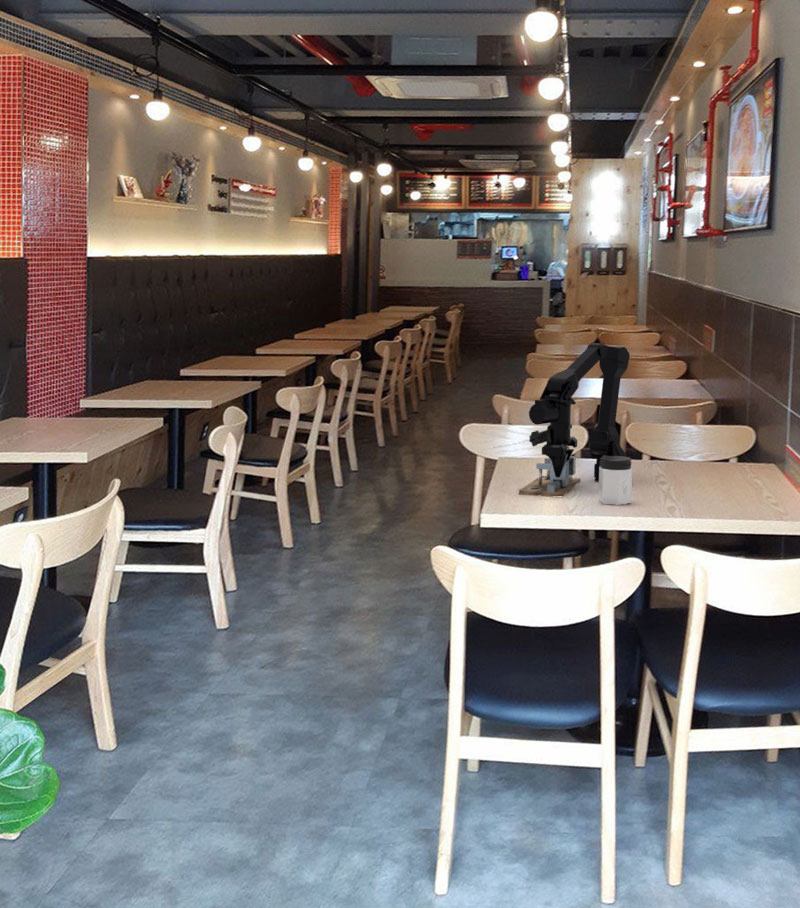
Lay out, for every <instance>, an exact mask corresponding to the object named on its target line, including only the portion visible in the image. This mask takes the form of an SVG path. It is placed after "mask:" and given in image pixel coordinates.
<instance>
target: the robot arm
mask: <svg viewBox="0 0 800 908" xmlns="http://www.w3.org/2000/svg"><path fill="white" fill-rule="evenodd" d="M629 362H630V352H629V351H628V348H627V347H625V346H613V345H606V344H605V343H597V342H596V343H594V342H592V343H590V344H588V345H587V347H586V349H585V350H584V351H583V352H582V353H581V354H579V356H578V357H577V358H576V359H575V360H574V361H573V362H572V363H571V364H570V365H569V366H568V367H567V368H566V369H564V370H561V371H559V372H556V373H555V374H554V375H552V376H550V377H549V378H548V379H547V382H546V385H545V387H544V389H543V391H542V393H541V396H539V397H540V398H539V399H534V404H533V405H532V406H531V407H530V409H529V411H528V417H529V420H530V421H531V423H533V424H534V425H535V426H536V425H543V424H544V425H545V424H549V425H547V428H546V430H542V431H539V430H535V431H532V432H531V433H530V435H529V440H528V441H529V442H530V443H531V445H532V447H536V446H537V445H540V444H543V443H545V445H543V446H542V447H541V456H542V455H543V456H546V457H547V458H550V459H551V461H552V464H553V468H554V472H555V477H560V475H561V472H562V469H563V467H564V464H565V461H566V460H570V458H571V456H573V453H574V451H575V449H576V448H577V447H578V439H577V438H576V437H575V436H571V429H572V428H573V423H571V422H572V421H571V417H572V416H571V414H572V413H571V412H572V411H571V410H572V405H576V404H577V403H576V400H575V399H573V396H574V395H575V393H576V391H577V390H578V389H579V384H580V383H579V382H580V381H581V380H582V379H583V378H584V377H585V376H586V375H587V374H588V373H589V372H590V371H591V369H592V368H594V367H595V365H597V364H598V365H599V368H600V372H601V373H602V384H601V385H602V388H601V394H600V404H599V413H598V421H597V425H596V426H595V428H594V429H590V430H589V439H588V449H589V451H590V456H591V459H592V460H593V459H594V460H596V463H594V467H593V468H594V470H593V471H594V472H593V473H594V474H593V478H594V481H595V482H599V467H600V461H601V457H604V456H624V457H626V452H625V451H624V449H623V448H622V446H621V445H620V435H619V433H618V430H617V428H616V420H617V411H618V402H619V394H620V386H621V378H622V376H623V375H624V374H625V372H626V371H627V369H628V368H629V367H628V365H629ZM570 447H573V449H572V448H570Z"/></svg>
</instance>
